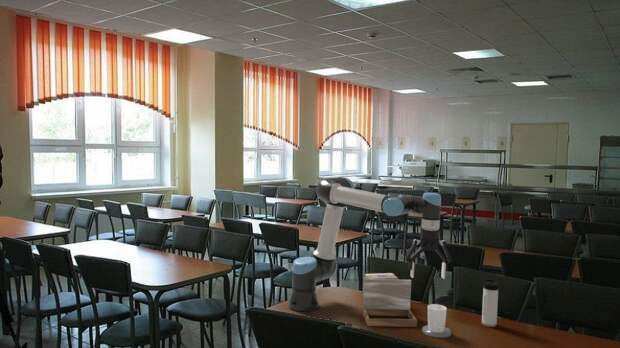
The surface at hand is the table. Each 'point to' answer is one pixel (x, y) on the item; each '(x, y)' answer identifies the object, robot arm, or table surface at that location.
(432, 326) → the white cup
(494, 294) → the travel mug
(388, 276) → the tea box
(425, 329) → the slate saucer
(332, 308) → the table surface
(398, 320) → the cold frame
